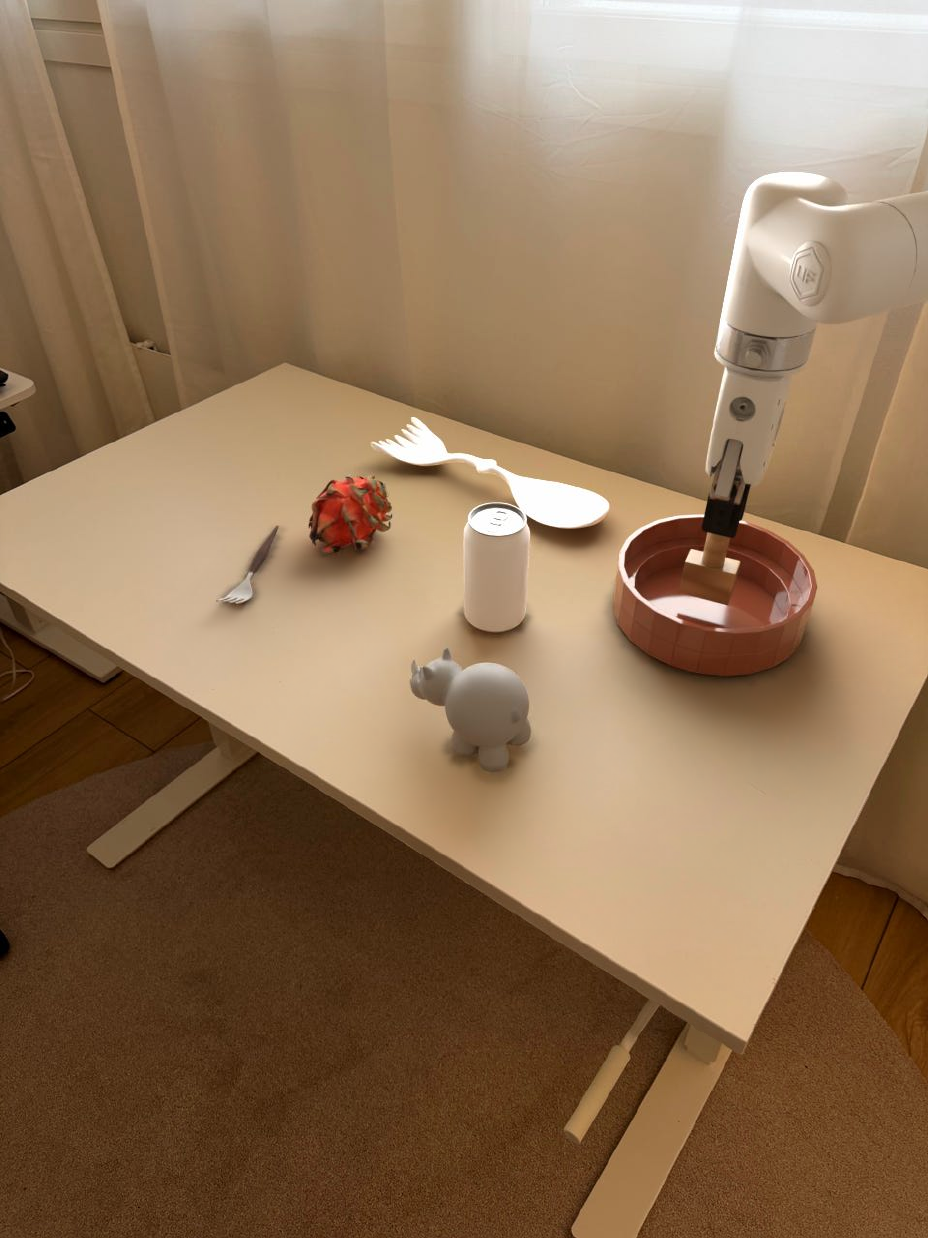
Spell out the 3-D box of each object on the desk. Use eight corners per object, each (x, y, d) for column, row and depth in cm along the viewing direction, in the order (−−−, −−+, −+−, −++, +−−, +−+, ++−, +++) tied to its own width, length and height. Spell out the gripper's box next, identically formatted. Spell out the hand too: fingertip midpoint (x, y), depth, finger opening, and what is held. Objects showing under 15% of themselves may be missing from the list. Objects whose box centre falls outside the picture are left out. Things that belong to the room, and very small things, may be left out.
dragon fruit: (396, 528, 107) (328, 588, 102) (347, 476, 107) (275, 533, 101) (421, 498, 100) (348, 561, 94) (368, 442, 100) (292, 502, 94)
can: (454, 625, 92) (452, 529, 84) (477, 588, 96) (477, 494, 88) (513, 641, 90) (517, 544, 82) (534, 603, 94) (540, 507, 86)
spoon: (413, 435, 121) (412, 412, 119) (620, 515, 107) (624, 490, 104) (369, 463, 116) (367, 439, 114) (581, 551, 101) (584, 525, 99)
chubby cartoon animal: (440, 679, 86) (438, 612, 80) (543, 738, 80) (548, 669, 74) (389, 723, 81) (383, 655, 76) (494, 788, 76) (496, 720, 70)
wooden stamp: (732, 592, 91) (762, 474, 82) (727, 606, 90) (757, 487, 80) (684, 579, 93) (708, 462, 84) (678, 592, 91) (702, 474, 82)
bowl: (814, 585, 96) (829, 540, 92) (784, 703, 83) (799, 656, 79) (641, 542, 102) (648, 498, 98) (587, 645, 89) (593, 599, 85)
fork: (289, 530, 105) (287, 516, 103) (241, 617, 93) (237, 603, 91) (268, 528, 105) (265, 514, 104) (217, 615, 93) (213, 600, 92)
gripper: (794, 390, 67) (744, 582, 79) (824, 313, 78) (776, 492, 90) (695, 372, 69) (661, 561, 81) (738, 299, 80) (702, 475, 92)
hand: (722, 523), depth 86 cm, fingers closed on wooden stamp, 2 cm apart
